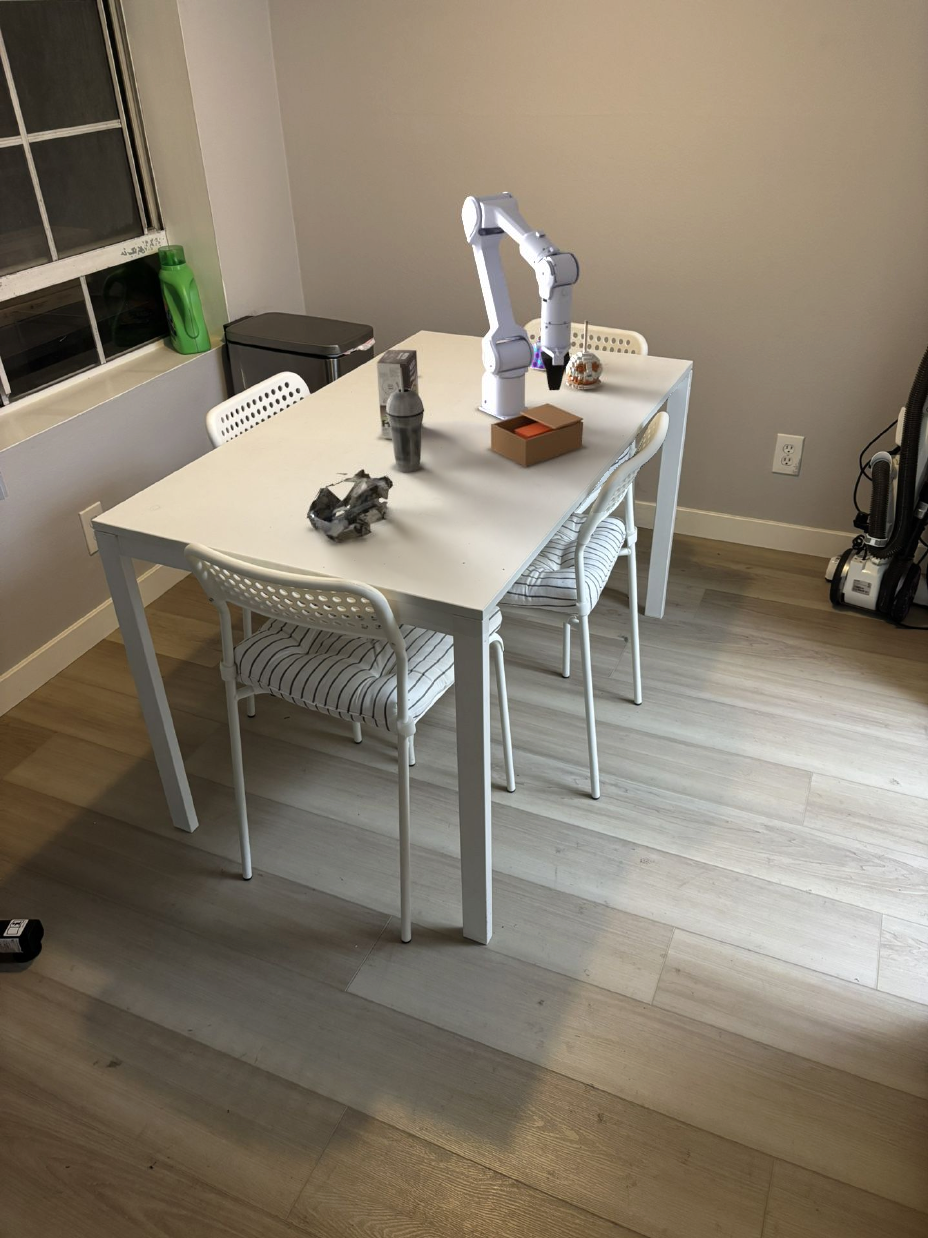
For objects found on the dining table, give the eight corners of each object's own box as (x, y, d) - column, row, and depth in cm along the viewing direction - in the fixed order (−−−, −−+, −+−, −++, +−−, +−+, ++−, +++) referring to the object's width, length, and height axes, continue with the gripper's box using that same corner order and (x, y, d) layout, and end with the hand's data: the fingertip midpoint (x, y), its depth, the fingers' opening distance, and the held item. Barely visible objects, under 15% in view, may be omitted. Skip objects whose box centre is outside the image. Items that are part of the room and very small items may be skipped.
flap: (547, 404, 195) (547, 403, 195) (583, 419, 188) (583, 418, 188) (520, 413, 192) (520, 411, 192) (555, 429, 185) (555, 427, 184)
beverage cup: (432, 461, 187) (428, 361, 176) (418, 476, 181) (413, 374, 170) (398, 457, 189) (391, 358, 178) (383, 472, 184) (376, 370, 172)
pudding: (576, 370, 230) (577, 348, 228) (528, 374, 228) (528, 352, 226) (561, 354, 240) (562, 334, 237) (515, 359, 238) (515, 338, 235)
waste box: (546, 431, 199) (547, 406, 196) (582, 447, 191) (583, 421, 188) (491, 449, 192) (490, 424, 189) (525, 466, 184) (525, 440, 181)
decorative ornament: (572, 392, 217) (575, 326, 209) (562, 381, 224) (564, 317, 216) (604, 389, 219) (608, 323, 211) (593, 378, 225) (597, 314, 217)
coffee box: (411, 440, 196) (406, 363, 187) (380, 438, 197) (375, 362, 189) (421, 423, 204) (417, 349, 195) (392, 422, 205) (387, 347, 196)
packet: (514, 448, 191) (514, 429, 189) (544, 438, 195) (545, 419, 192) (528, 455, 188) (528, 436, 186) (559, 445, 192) (559, 426, 189)
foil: (298, 497, 167) (365, 447, 165) (336, 541, 173) (402, 493, 170) (298, 525, 157) (370, 472, 155) (339, 570, 163) (410, 520, 160)
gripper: (533, 310, 189) (531, 377, 196) (537, 332, 177) (536, 402, 184) (568, 309, 189) (566, 376, 196) (575, 331, 176) (572, 401, 184)
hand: (554, 389), depth 190 cm, fingers closed
